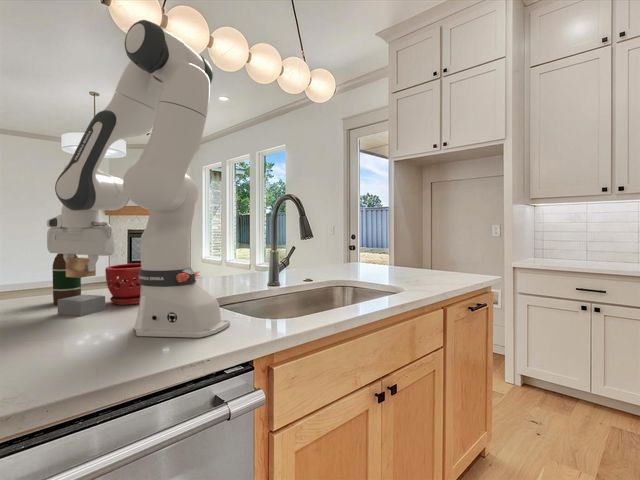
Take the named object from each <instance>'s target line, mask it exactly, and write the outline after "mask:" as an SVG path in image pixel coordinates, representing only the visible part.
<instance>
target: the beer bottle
mask: <svg viewBox="0 0 640 480" xmlns="http://www.w3.org/2000/svg"><path fill="white" fill-rule="evenodd" d="M72 258H79V256H78V255H77V254H74V257H72ZM79 295H82V278H75V277H66V262H65V260H64V258H63V254H57V253H56V256H55V257H54V260H53V262H52V300H53V305H54V306H58V301H57V300H59V299H64V298H69V297H74V296H79Z"/></svg>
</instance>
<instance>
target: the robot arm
mask: <svg viewBox="0 0 640 480" xmlns="http://www.w3.org/2000/svg"><path fill="white" fill-rule="evenodd" d="M124 50H125V52H126V56H127V58H128V59H129V60H130V61H129V62H128V64H127V65H126V67H125V68H124V70H123V72H122V74H121V76H120V78H119V80H118V82H117V84H116V88H115V91H114V93H113V96H112V98H111V100H110V102H109V103H108V105H107V106H106V107H105V108H104V109H103V110H100V111H99V112H97V113H96V114H95V115H94V116H93V117H92V119H91V120H90V122H89V124H88V126H87V127H86V128H85V131H84V133H83V135H82V137H81V139H80V141H79V143H78V146H77V147H76V149H75V151H74V153H73V155H72V157H71V158H70V161H69V163H68V164H66V165H65V166H64V168H63V171H62V172H61V173H60V175H59V176H58V177H57V180H56V182H55V185H54V190H55V191H54V192H55V195H56V197H57V198H58V200H59V201H60V203H61V204H62V206H61V208H60V210H61V212H60V213H61V214H59V215H56V216H54V217H52V218H49V219H47V221H46V227H47V228H48V229H47V233H46V248H47V251H48V252H49V253H50V254H56V255H57V254H63V258H64V260H65V262H66V259H71V258H72V257H74V254H76V255H77V256H78V255H83V256H87V258H88V259H90V260H89V263H88V265H85V268H86V269H85V270H86V271H94V270H95V264H97V262H98V260H99V257H103V256H112V255H113V254H114V253H115V241H114V234H113V231H112V226H111V225H110V224H109V223H108V222H106V221H102V222H100V211H117V210H118V211H119V210H121V209H123V208H125V207H126V206H127V204H128V203H129V201H131V202H132V203H133V204H135V205H137V206H138V207H141V208H142V209H144V210H146V211H149V215H148V219H147V223H146V226H145V228H144V231H143V232H142V234H141V236H140V263H141V269H140V270H139V284H140V287H141V292H140V302H139V303H138V310H137V316H136V320H135V323H134V326H133V330H134V331H135V336H137V337H154V338H155V337H156V338H157V337H164V338H195V339H196V338H204V337H207V336H212V335H214V334H217V333H219V332H221V331H223V330H224V329H227V328H228V327H229V326H230V325H231V321H230V318H227V317H222V315H221V308H220V304H219V302H218V300H217V298H216V297H214V296H213V295H212V294H211V293H209V292H208V291H207V290H206V289H204V288H203V287H202V286H200V285H199V284H198V283H197V278H196V277H200V274H199V273H200V271H199V270H198V271H193V269H192V267H191V266H190V263H191V260H190V259H191V258H190V257H191V256H190V255H191V252H190V251H191V249H190V248H191V244H190V242H191V241H190V240H191V231H192V225H193V219H194V214H195V213H194V212H195V207H196V203H197V201H198V200H199V188H198V186H197V183H195V181H194V179H192V177H191V176H189V175H188V174H187V171H188V168H189V166H190V164H191V162H192V160H193V158H194V156H195V155H196V154H197V153H198V151H199V150H200V147H201V143H202V140H203V139H202V138H203V134H204V130H205V125H206V121H207V116H208V111H209V105H210V96H211V95H210V93H211V85H212V83H213V82H212V81H213V78H214V77H213V76H214V75H213V74H214V73H213V68H212V67H211V66H212V65H210V63H209V61H207V60H206V59H205V57H203V56H202V55H200V54H199V53H197V52H196V51H195V50H193V49H192V48H191V46H189V45H187V44H186V43H185V42H184V41H183V40H182V39H180V38H179V37H177V36H176V35H174V34H172V33H171V32H169V31H167V30H166V29H163V28H162V27H161V26H160V25H158V24H156V23H154V22H152V21H149V20H146V19H141V20H138V21H136V22H135V23H132V25H131V26H130V27H129V29H128V30H127V33H126V35H125V39H124ZM151 130H152V131H151ZM150 131H151V132H150ZM149 132H150V136H149V139H148V141H147V143H146V145H145V147H144V149H143V150H142V153H141V155H140V156H139V158H138V160H137V161H136V162H135V163H134V164H133V165H131V166H130V167H129V168H127V170H126V172H125V174H124V176H123V179H122V178H120V177H118V176H114V175H112V174H109V173H106V172H105V171H103V170H100V169H99V167H100V165H101V163H102V161H103V160H104V157H105V156H106V153H107V151H108V149H109V148H110V147H111V146H112V145H113V144H114V143H116V142H117V141H119V140H121V139H127V138H133V137H139V136H143V135H145V134H147V133H149Z"/></svg>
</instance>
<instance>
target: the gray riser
mask: <svg viewBox="0 0 640 480" xmlns="http://www.w3.org/2000/svg"><path fill="white" fill-rule="evenodd" d="M57 301H58V305H57V315H64V316H74V317H75V316H76V317H83V316H88V315H91V314H95V313H97V312H103V311H106V296H105V295H94V294H81V295H79V296H74V297H69V298H64V299H59V300H57Z"/></svg>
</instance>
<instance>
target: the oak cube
mask: <svg viewBox="0 0 640 480" xmlns="http://www.w3.org/2000/svg"><path fill="white" fill-rule="evenodd" d="M89 260H90V259H88V257H78V258H71V259H66V277H75V278H81V279H83V278H87V277H96V273H97V272H96V270H97V267H96V266H97V265H96V264H97V263H96V264H95V270H94V271H86V270H85V269H86V268H85V265H88V263H89Z"/></svg>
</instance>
